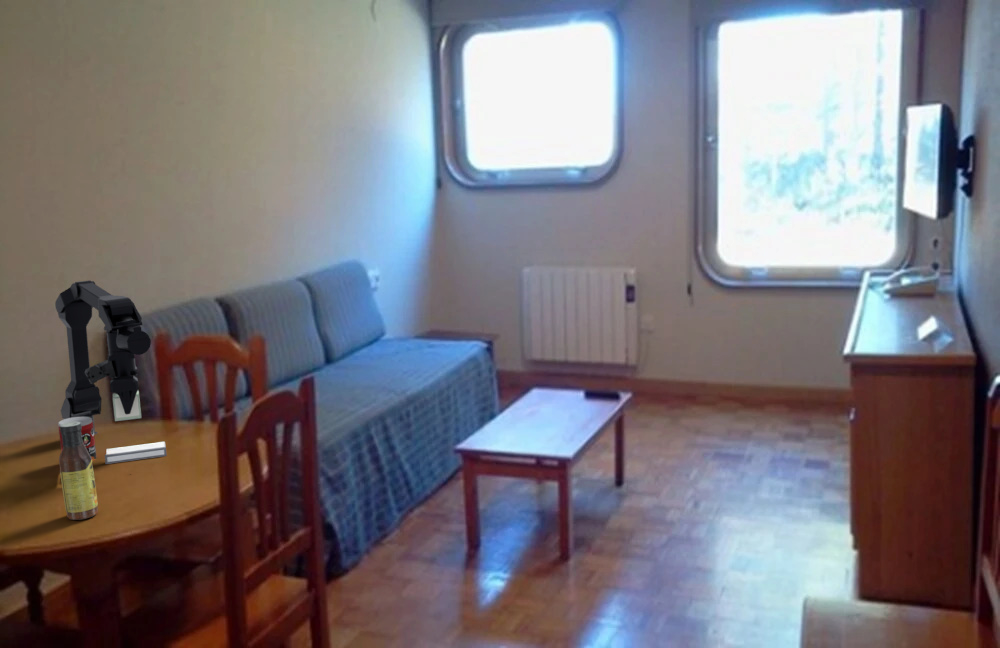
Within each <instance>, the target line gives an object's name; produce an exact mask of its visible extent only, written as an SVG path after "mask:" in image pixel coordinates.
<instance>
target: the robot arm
mask: <svg viewBox="0 0 1000 648" xmlns="http://www.w3.org/2000/svg"><path fill="white" fill-rule="evenodd" d="M54 304H55V310H56V312H57V316H58V318H59V320H60V321H61V322H62V323H63V324H64V326H65V328H66V337H67V347H68V348H67V349H68V359H69V361H68V362H69V370H70V372H69V373H70V382H69V383H68V385H67V387H66V389H65V398H64V400H63V403H62V406H61V409H60V415H61V418H62V420H64V419H68V418H72V417H90V418H92V421H93V429H94V436H95V435H97V434H98V431H96V429H95V419H94V416H96V415H101V413H102V412H101V411H102V396H101V394H100V388H99V387H98V386H96V384H95V383H97V382H98V381H100V380H102V379H105V378H107V377H109V379H111V380H110V381H109V387H110V393H113V394H114V393H116V394H118V395H119V397H120V400H121V403H122V406H123V409H124V412H125V414H130V412H131V409H132V406H133V403H134V400H135V397H136V393H137V391H139V388H140V387H139V386H140V385H139V378H138V367H137V366H136V359H135V355H137V356H139V355H140V356H141V355H143V354H146V352H147V351H148V350H149V349H150V348H151V344H152V343H151V342H152V340H151V337H150V335H149V334H148V333H147V332H146V331H143V330H142V326H143V322H142V316H141V314H140V312H139V311H138V308H137V307H136V305H135V303H134V301H132V299H131V298H130V297H127V296H124V295H113V294H111V293H110V292H108V291H107V290H105V289H104V288H102V287H100V286H98V285H97V284H96V283H95V281H93V280H80V281H75V282H73V283H72V284H71V285H70V287H68V288H67V289H65V290H64V291H62V292H60V293H59V295H58V297H57V298H56V300H55V303H54ZM93 308H94V309H96V310H97V312H98V317H99V318H100V320H101V321H102V323H103V324H104V328H103V330H104V331H106V340H107V348H108V350H107V351H108V354H107V359H106V360H104V361H101V362H99V363H95V364H94V365H93V366H90V355H89V354H90V353H89V343H88V341H89V340H88V331H87V330H88V329H87V326H88V325H89V323H90V321H91V319H92V318H93Z"/></svg>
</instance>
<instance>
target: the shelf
mask: <svg viewBox="0 0 1000 648" xmlns="http://www.w3.org/2000/svg"><path fill="white" fill-rule="evenodd" d="M167 455H168V454H167V447H166V442H165V441H158V442H152V443H144V444H143V443H142V444H136V445H128V446H121V447H119V446H118V447H113V448H106V454H104V461H105V462H104V463H105V465H108V464H110V465H111V464H116V463H122V462H123V463H124V462H131V461H137V460H145V459H152V458H160V457H166V456H167Z"/></svg>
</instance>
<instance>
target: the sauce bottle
mask: <svg viewBox="0 0 1000 648" xmlns="http://www.w3.org/2000/svg"><path fill="white" fill-rule="evenodd" d="M81 429H82V427H81V423H80V422H68V423H64V424H62V425H60V432H61V434H62V440H63V450H62V452H61V453H60V454H59V457H58V460H59V461H58V463H59V469H60V470H59V473H60V480H61V487H62V494H63V495H62V496H63V501H64V507H65V512H66V516H67V518H68V519H69V520H72V521H82V520H86V519H90V518H92V517H94V516H95V515H97V513H98V511H99V508H98V506H99V503H98V495H97V494H98V493H97V487H96V480H95V473H94V467H93V461H92V458H91V456H90V454H89V452H88V450H87V448H86V447H85V445H84V443H83V440H82V433H81Z"/></svg>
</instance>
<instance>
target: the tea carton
mask: <svg viewBox="0 0 1000 648" xmlns="http://www.w3.org/2000/svg"><path fill="white" fill-rule="evenodd" d="M112 405H113V407H112V408H113V416H114V422H120V421H128V420H136V419H142V410H141V401H140V391H139V390H137V393H136V397H135V400H134V403H133V406H132V409H131V412H130V414H125V412H124V409H123V406H122V403H121V400H120V397H119V395H118V394H116V393H114V392H113V393H112Z"/></svg>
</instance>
